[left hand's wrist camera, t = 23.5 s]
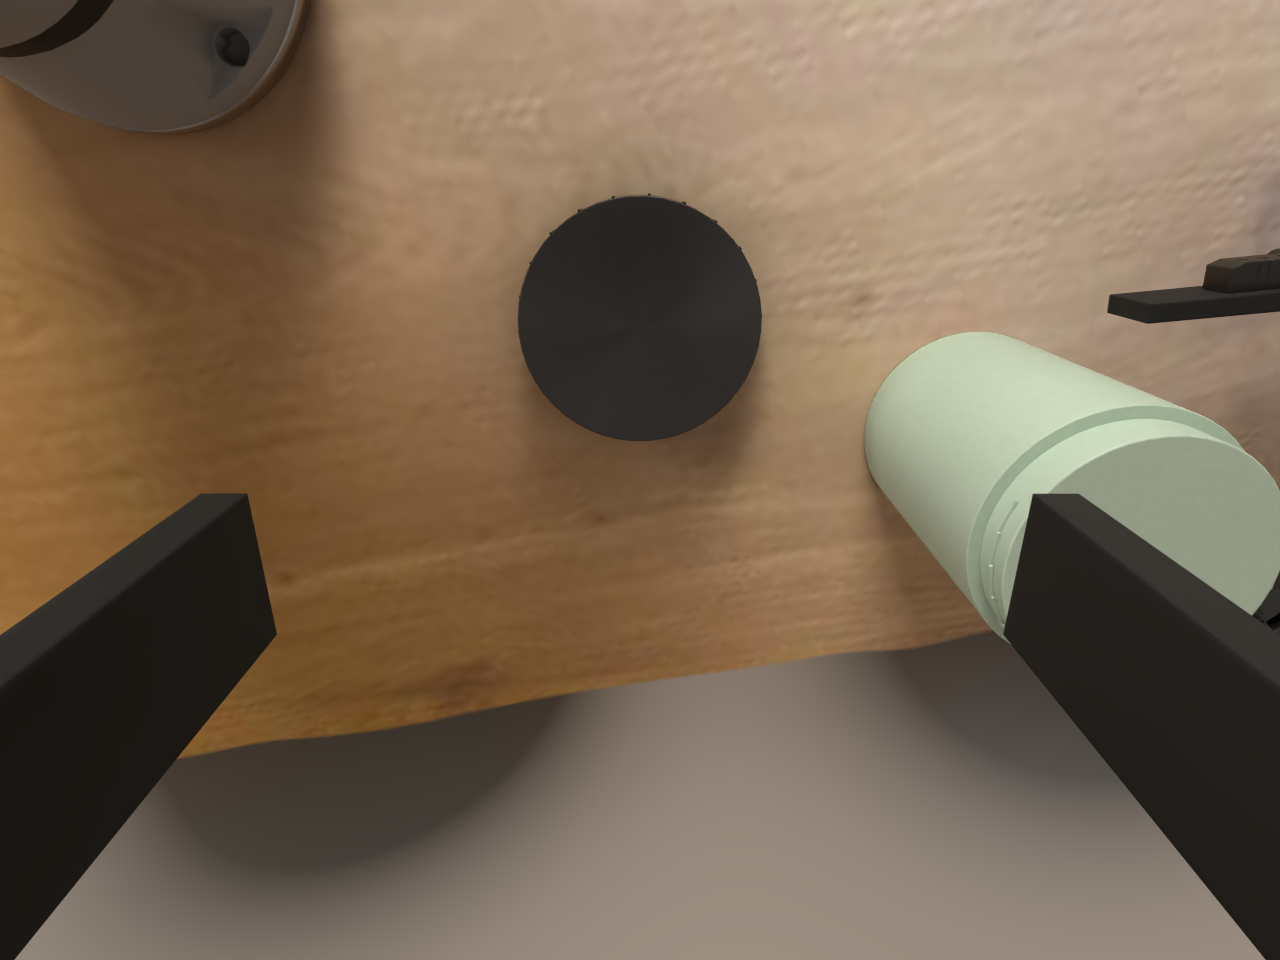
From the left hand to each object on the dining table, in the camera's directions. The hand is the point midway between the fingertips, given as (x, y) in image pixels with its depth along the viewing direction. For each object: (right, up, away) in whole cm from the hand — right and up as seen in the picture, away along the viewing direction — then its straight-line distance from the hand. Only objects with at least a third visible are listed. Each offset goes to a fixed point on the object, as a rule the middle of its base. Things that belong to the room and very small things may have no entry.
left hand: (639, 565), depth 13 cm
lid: (0, +9, +22) cm, 24 cm away
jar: (+17, +4, +26) cm, 31 cm away
